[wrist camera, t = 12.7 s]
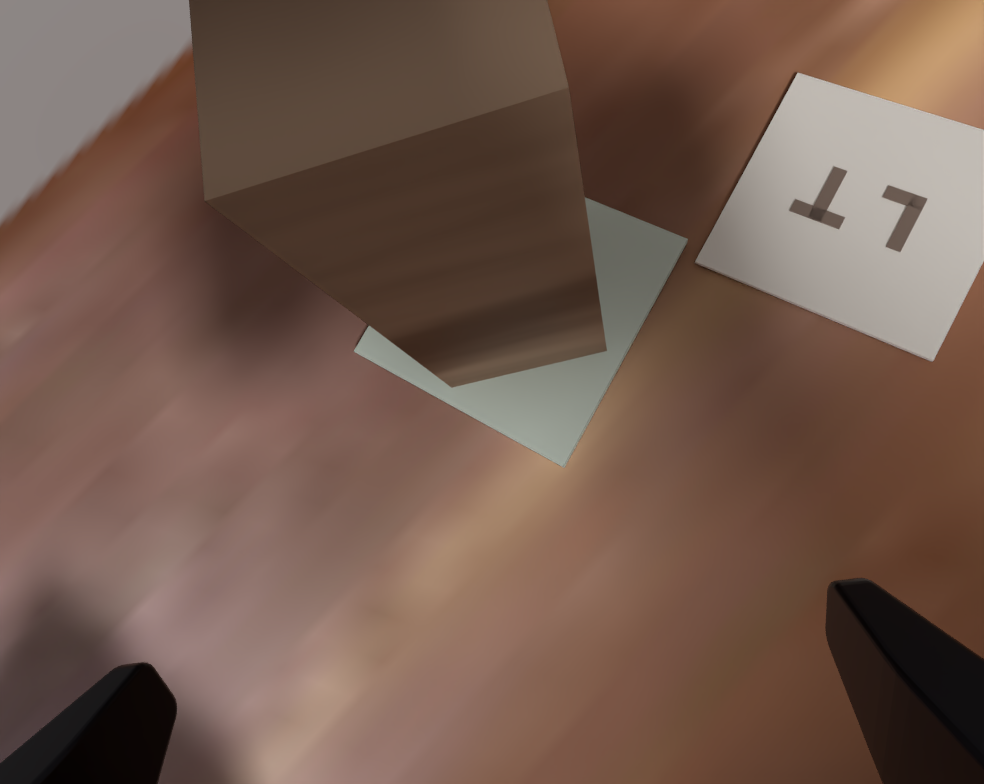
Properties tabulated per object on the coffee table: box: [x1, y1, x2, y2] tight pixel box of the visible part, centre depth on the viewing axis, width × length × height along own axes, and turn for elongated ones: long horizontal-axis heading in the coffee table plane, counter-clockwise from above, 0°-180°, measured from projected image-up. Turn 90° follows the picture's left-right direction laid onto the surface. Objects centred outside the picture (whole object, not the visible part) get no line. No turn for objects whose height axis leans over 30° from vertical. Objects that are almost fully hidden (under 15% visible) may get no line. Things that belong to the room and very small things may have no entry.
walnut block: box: [189, 0, 607, 388], centre depth 14 cm, size 5×5×12 cm
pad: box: [354, 197, 688, 468], centre depth 20 cm, size 8×8×1 cm
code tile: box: [695, 73, 984, 362], centre depth 18 cm, size 7×7×1 cm
